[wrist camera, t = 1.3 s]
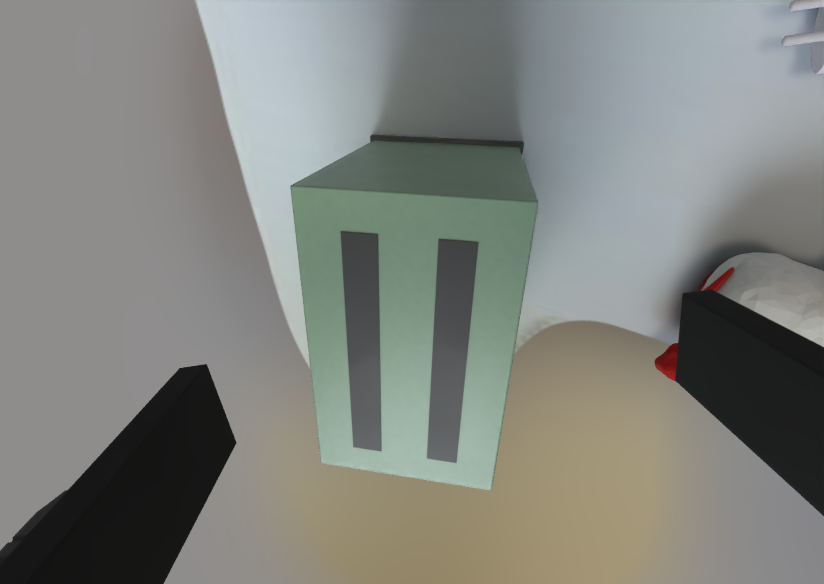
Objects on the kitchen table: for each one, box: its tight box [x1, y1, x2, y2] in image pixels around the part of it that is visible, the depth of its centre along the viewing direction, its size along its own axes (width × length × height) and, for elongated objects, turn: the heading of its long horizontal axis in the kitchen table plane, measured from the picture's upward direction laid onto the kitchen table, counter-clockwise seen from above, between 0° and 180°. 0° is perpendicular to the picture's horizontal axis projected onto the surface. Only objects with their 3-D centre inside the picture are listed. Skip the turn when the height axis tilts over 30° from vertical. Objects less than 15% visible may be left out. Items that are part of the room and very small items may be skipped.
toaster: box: [291, 135, 538, 490], centre depth 30 cm, size 20×12×16 cm, turn 179°
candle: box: [655, 252, 824, 381], centre depth 30 cm, size 9×11×15 cm
